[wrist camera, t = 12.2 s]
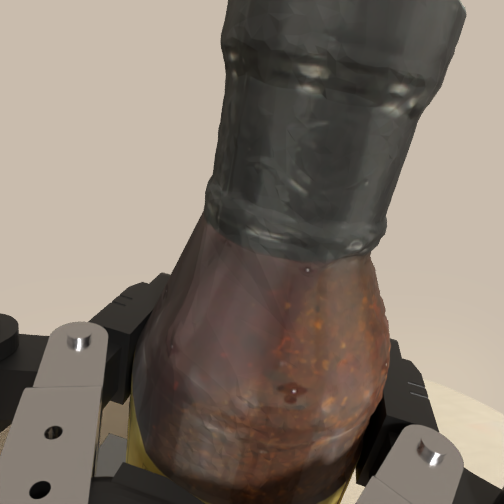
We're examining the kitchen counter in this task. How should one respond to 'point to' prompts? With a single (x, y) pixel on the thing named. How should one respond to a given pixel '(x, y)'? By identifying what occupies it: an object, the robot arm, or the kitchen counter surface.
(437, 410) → the kitchen counter surface
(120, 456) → the grey mat
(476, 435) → the kitchen counter surface
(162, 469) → the sauce bottle
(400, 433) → the robot arm
